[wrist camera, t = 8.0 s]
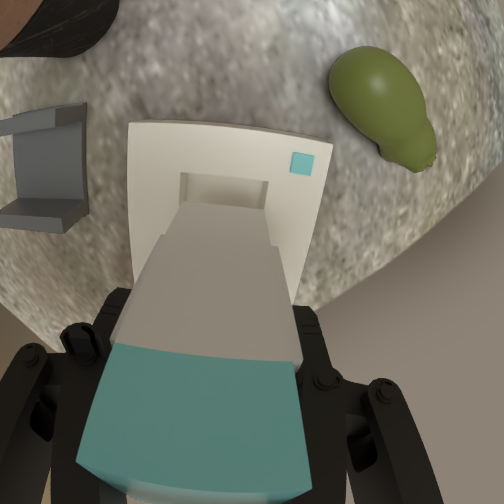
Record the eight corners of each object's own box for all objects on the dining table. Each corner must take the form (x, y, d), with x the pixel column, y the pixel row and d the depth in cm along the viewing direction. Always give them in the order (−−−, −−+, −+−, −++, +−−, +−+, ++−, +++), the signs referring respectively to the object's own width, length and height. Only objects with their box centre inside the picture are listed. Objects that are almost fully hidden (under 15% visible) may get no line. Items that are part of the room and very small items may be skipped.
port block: (146, 266, 22) (133, 292, 19) (145, 119, 16) (126, 123, 13) (286, 280, 24) (293, 308, 20) (318, 137, 18) (335, 145, 14)
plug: (181, 283, 16) (135, 499, 5) (183, 201, 13) (75, 461, 3) (250, 290, 16) (261, 511, 6) (264, 209, 14) (312, 488, 3)
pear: (397, 28, 9) (464, 150, 14) (351, 34, 13) (420, 129, 18) (336, 85, 11) (420, 201, 16) (299, 81, 15) (380, 172, 20)
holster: (23, 209, 19) (-3, 229, 15) (17, 114, 14) (-15, 122, 11) (88, 213, 20) (64, 236, 16) (86, 102, 15) (55, 105, 12)
